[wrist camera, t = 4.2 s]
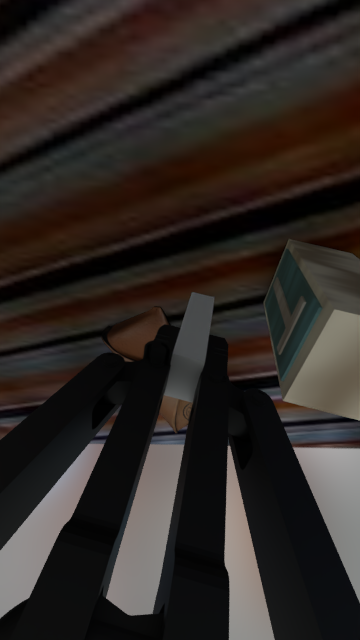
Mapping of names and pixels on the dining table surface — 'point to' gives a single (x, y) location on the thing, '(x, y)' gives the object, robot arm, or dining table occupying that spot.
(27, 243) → the dining table surface
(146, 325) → the sunglasses case
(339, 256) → the cream and teal box
